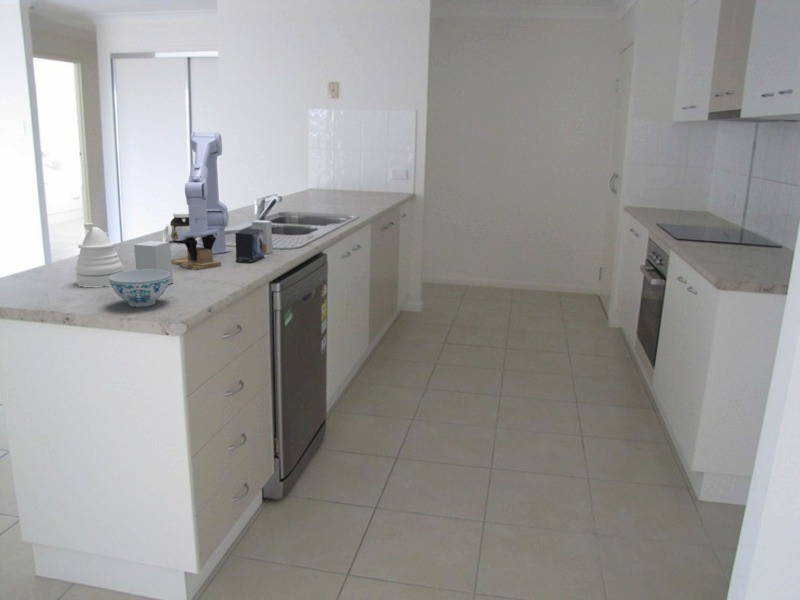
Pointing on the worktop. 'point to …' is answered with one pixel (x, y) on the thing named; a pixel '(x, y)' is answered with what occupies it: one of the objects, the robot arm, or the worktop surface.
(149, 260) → the supplement box
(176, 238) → the spread jar
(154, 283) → the chinaware
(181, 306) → the worktop surface
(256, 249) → the small box
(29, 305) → the worktop surface
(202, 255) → the block
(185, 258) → the board
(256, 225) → the skincare box
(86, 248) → the honey pot
